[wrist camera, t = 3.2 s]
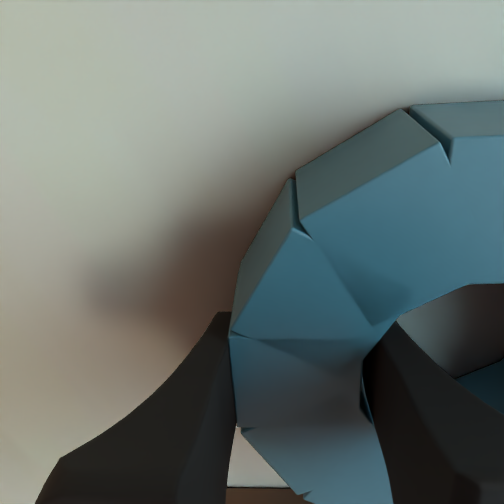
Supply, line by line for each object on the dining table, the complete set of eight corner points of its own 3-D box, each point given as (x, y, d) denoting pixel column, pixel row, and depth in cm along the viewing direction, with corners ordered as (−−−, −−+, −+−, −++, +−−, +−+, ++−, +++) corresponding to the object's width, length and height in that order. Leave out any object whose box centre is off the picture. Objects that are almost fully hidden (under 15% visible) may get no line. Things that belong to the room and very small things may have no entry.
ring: (744, 87, 11) (908, 117, 8) (595, 447, 17) (660, 539, 14) (225, 113, 12) (206, 148, 9) (253, 445, 18) (247, 530, 15)
